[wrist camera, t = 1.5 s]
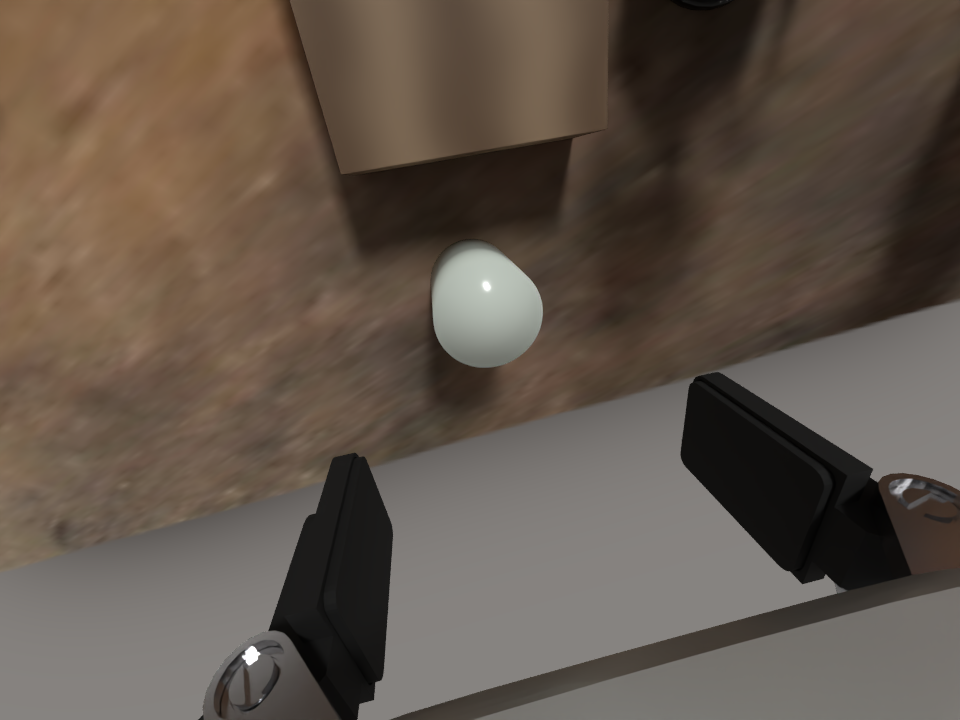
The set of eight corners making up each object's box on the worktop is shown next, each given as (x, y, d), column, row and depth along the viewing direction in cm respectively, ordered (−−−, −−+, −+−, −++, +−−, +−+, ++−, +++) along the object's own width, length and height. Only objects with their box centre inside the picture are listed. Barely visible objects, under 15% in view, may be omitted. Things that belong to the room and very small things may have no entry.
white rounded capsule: (506, 232, 26) (538, 252, 19) (515, 311, 28) (546, 356, 21) (422, 247, 25) (421, 274, 18) (439, 326, 28) (445, 376, 21)
